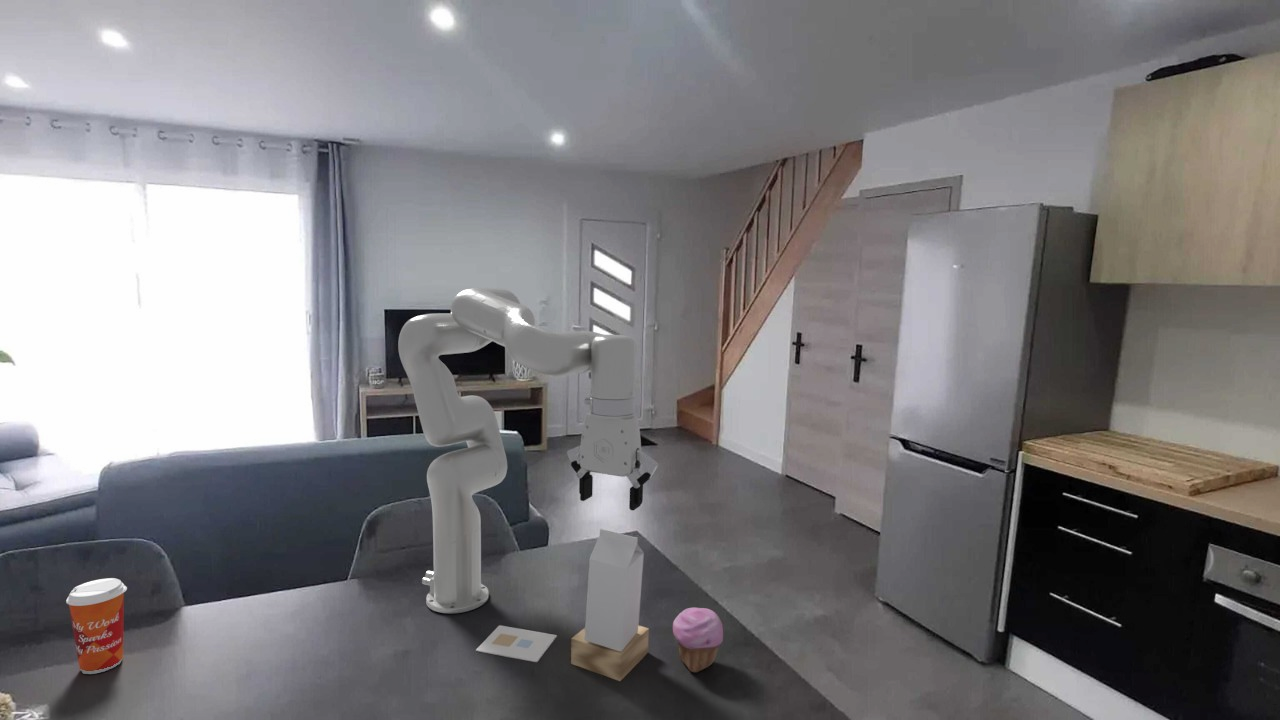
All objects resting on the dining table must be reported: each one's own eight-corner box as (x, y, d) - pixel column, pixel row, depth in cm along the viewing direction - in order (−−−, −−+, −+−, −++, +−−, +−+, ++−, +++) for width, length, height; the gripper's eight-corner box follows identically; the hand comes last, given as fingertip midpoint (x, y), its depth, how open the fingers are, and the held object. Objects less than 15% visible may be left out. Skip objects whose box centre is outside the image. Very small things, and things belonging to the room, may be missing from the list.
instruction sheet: (475, 650, 116) (475, 649, 116) (499, 626, 125) (499, 625, 125) (537, 662, 113) (536, 661, 113) (556, 636, 122) (556, 635, 122)
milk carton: (621, 653, 108) (629, 545, 106) (584, 641, 111) (590, 536, 109) (638, 632, 115) (645, 531, 113) (602, 622, 118) (609, 522, 115)
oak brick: (571, 665, 113) (571, 638, 113) (601, 639, 122) (601, 614, 121) (620, 683, 108) (620, 655, 108) (648, 654, 117) (648, 628, 117)
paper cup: (65, 684, 104) (58, 601, 103) (79, 659, 111) (73, 581, 110) (125, 671, 108) (120, 592, 106) (136, 648, 115) (131, 573, 113)
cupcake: (663, 656, 116) (665, 603, 115) (705, 646, 119) (707, 595, 118) (687, 684, 108) (689, 628, 107) (731, 673, 111) (733, 618, 110)
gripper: (557, 405, 111) (556, 501, 113) (648, 416, 104) (646, 518, 106) (580, 398, 118) (578, 489, 120) (667, 408, 110) (664, 505, 112)
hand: (610, 503), depth 113 cm, fingers open, 9 cm apart
